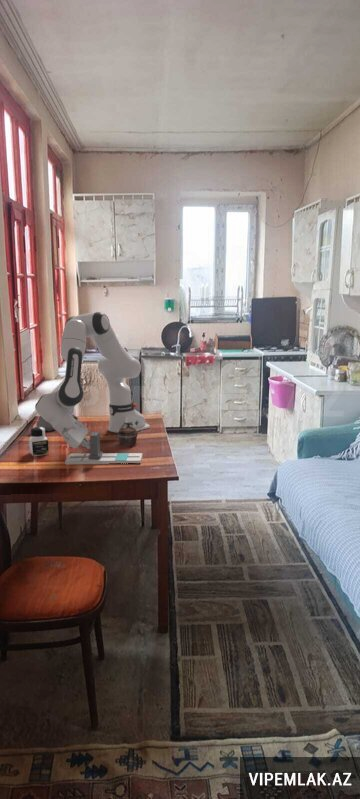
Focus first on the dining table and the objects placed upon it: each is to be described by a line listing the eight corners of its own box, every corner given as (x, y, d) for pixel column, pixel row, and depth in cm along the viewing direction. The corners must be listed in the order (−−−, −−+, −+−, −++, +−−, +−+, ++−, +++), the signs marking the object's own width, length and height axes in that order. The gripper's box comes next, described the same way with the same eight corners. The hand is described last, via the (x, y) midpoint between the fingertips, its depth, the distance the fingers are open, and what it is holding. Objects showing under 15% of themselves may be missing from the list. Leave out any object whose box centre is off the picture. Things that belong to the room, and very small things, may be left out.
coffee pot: (39, 433, 259) (37, 405, 256) (35, 428, 269) (33, 401, 266) (79, 428, 267) (78, 401, 264) (74, 423, 278) (73, 397, 274)
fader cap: (88, 458, 211) (87, 435, 209) (91, 453, 218) (90, 431, 216) (100, 458, 211) (99, 435, 209) (102, 453, 218) (101, 431, 216)
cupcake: (116, 441, 242) (115, 421, 240) (135, 439, 245) (134, 419, 243) (120, 447, 233) (119, 426, 231) (140, 444, 237) (139, 424, 235)
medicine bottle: (33, 456, 220) (31, 430, 218) (29, 452, 226) (27, 427, 224) (49, 454, 223) (47, 428, 221) (45, 450, 230) (43, 425, 227)
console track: (65, 464, 210) (65, 460, 210) (70, 456, 220) (70, 453, 219) (140, 463, 209) (140, 460, 209) (142, 456, 219) (142, 452, 219)
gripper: (65, 427, 201) (90, 449, 203) (76, 415, 221) (99, 436, 223) (55, 437, 202) (80, 460, 204) (67, 424, 222) (90, 445, 224)
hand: (90, 447), depth 214 cm, fingers closed, pressing on fader cap
